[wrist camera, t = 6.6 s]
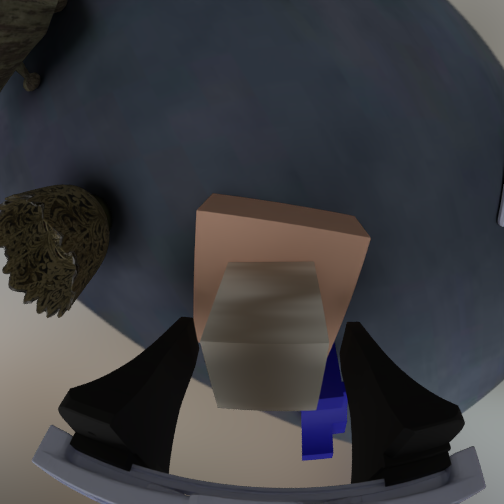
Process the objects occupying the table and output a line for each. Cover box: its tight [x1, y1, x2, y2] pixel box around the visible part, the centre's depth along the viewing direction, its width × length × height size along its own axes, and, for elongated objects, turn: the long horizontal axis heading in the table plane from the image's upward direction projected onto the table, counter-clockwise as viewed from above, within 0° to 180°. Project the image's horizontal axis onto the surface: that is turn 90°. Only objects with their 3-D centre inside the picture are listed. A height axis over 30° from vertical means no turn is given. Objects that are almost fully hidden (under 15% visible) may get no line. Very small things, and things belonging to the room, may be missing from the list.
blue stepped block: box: [300, 343, 347, 460], centre depth 21 cm, size 12×4×6 cm, turn 9°
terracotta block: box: [194, 193, 371, 357], centre depth 17 cm, size 9×9×4 cm
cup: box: [0, 185, 112, 318], centre depth 15 cm, size 7×7×8 cm
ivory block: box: [200, 261, 329, 411], centre depth 13 cm, size 4×4×6 cm
